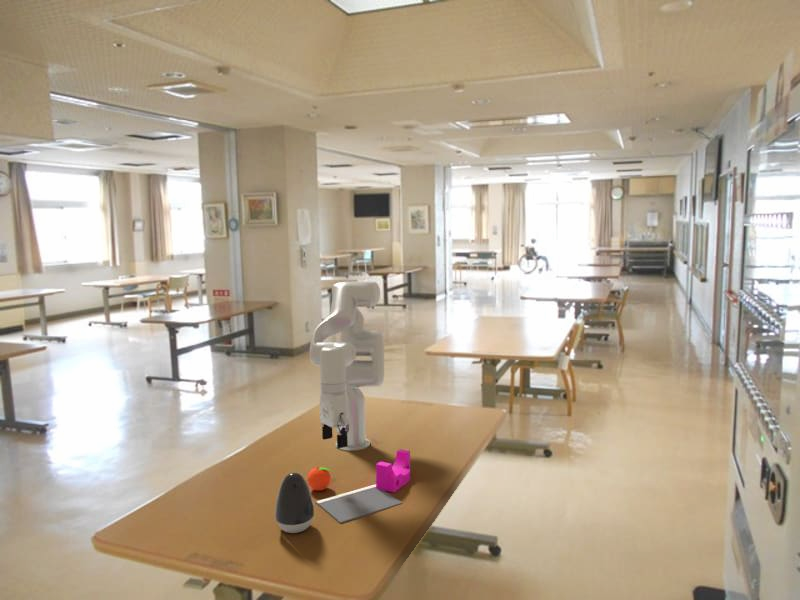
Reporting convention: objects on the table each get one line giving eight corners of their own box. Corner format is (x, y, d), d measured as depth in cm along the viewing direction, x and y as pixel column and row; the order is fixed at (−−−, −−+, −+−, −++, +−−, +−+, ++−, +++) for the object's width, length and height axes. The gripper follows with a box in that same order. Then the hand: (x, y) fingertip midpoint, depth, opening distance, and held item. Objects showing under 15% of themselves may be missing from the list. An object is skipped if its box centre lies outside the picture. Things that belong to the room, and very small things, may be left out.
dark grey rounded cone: (280, 542, 151) (278, 484, 149) (272, 523, 161) (269, 469, 159) (319, 533, 155) (317, 477, 153) (309, 516, 165) (307, 463, 163)
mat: (315, 502, 173) (315, 500, 172) (375, 485, 183) (375, 483, 183) (340, 523, 160) (340, 521, 160) (402, 503, 171) (402, 502, 171)
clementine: (336, 485, 184) (335, 463, 184) (331, 495, 177) (331, 472, 177) (311, 484, 185) (310, 462, 184) (305, 494, 178) (304, 471, 177)
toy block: (394, 492, 178) (394, 468, 177) (376, 488, 181) (376, 464, 180) (416, 475, 191) (417, 452, 190) (399, 471, 194) (399, 449, 193)
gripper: (309, 383, 185) (311, 437, 186) (335, 395, 170) (337, 453, 172) (331, 380, 189) (332, 433, 191) (358, 391, 174) (359, 448, 176)
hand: (334, 442), depth 181 cm, fingers open, 9 cm apart
